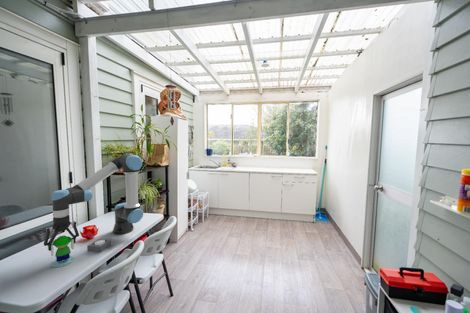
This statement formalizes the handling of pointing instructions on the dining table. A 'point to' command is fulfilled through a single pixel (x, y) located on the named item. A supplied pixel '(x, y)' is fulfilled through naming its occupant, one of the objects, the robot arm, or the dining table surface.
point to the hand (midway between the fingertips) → (62, 251)
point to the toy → (62, 248)
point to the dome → (100, 242)
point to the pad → (62, 262)
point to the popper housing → (99, 246)
